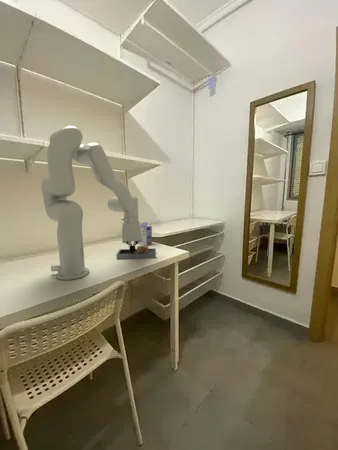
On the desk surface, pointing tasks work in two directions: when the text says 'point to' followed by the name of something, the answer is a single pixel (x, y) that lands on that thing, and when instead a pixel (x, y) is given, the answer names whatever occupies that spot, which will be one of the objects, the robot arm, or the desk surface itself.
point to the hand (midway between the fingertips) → (132, 252)
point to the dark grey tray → (135, 254)
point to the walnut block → (142, 249)
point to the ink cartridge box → (146, 234)
